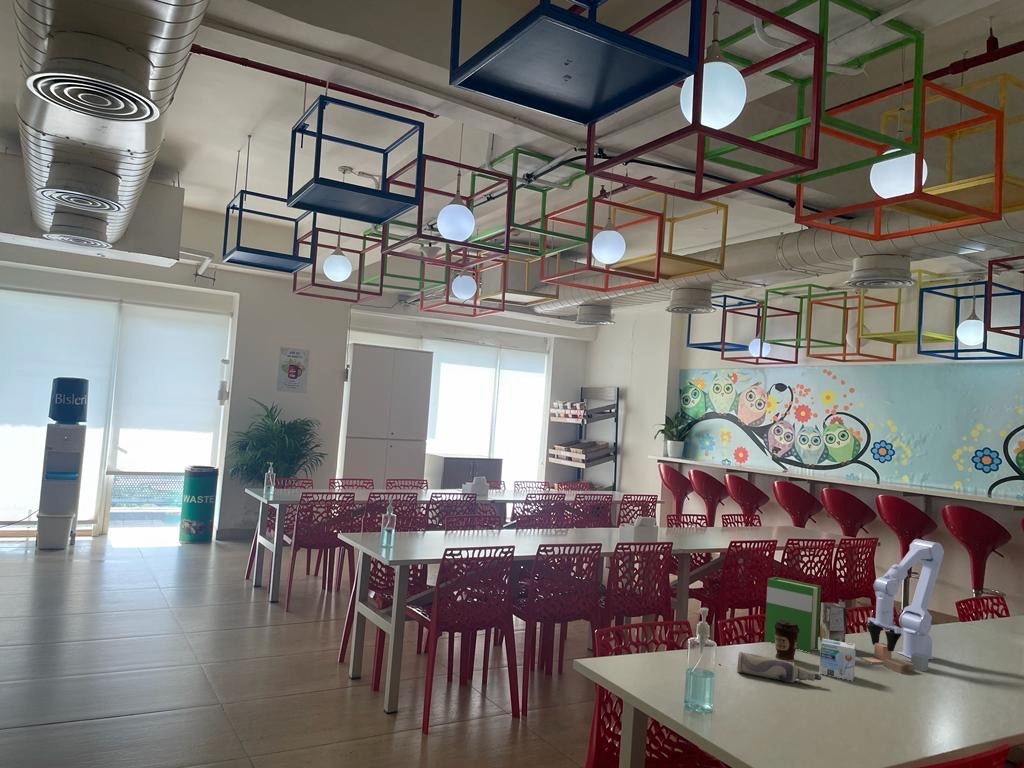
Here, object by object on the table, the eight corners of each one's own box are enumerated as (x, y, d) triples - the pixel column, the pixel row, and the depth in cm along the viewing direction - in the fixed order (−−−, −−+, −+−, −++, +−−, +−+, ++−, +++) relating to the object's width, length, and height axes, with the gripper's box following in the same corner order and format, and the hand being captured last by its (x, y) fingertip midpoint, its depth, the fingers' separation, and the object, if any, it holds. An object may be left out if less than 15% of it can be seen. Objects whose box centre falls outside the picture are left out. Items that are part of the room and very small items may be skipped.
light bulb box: (818, 674, 245) (820, 641, 246) (820, 669, 251) (821, 637, 252) (853, 681, 240) (855, 648, 241) (854, 676, 246) (856, 644, 247)
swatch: (873, 657, 270) (873, 656, 270) (888, 664, 263) (888, 662, 263) (858, 658, 268) (858, 656, 268) (871, 664, 262) (872, 662, 262)
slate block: (916, 666, 263) (917, 652, 263) (927, 670, 260) (928, 656, 260) (910, 668, 261) (911, 654, 261) (922, 671, 257) (922, 657, 258)
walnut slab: (896, 666, 263) (897, 658, 263) (914, 673, 256) (914, 664, 256) (883, 667, 260) (883, 659, 260) (900, 674, 253) (900, 665, 254)
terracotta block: (883, 656, 273) (883, 643, 273) (891, 660, 269) (891, 646, 269) (874, 656, 272) (874, 643, 272) (882, 660, 268) (882, 646, 268)
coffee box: (845, 651, 277) (847, 608, 278) (828, 649, 277) (830, 606, 278) (835, 644, 286) (837, 602, 287) (818, 642, 286) (820, 601, 287)
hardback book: (817, 650, 275) (820, 586, 277) (809, 653, 270) (812, 588, 272) (772, 638, 288) (775, 577, 289) (764, 641, 282) (767, 578, 284)
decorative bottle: (735, 675, 238) (736, 654, 238) (738, 669, 245) (739, 648, 245) (821, 691, 228) (822, 669, 228) (821, 684, 235) (821, 663, 235)
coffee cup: (785, 663, 254) (787, 626, 255) (767, 656, 262) (769, 619, 262) (802, 661, 258) (804, 624, 259) (784, 654, 266) (786, 618, 266)
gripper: (861, 605, 278) (859, 641, 277) (890, 615, 264) (888, 653, 263) (877, 606, 279) (875, 641, 279) (906, 615, 265) (904, 653, 265)
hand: (882, 647), depth 271 cm, fingers open, 7 cm apart
